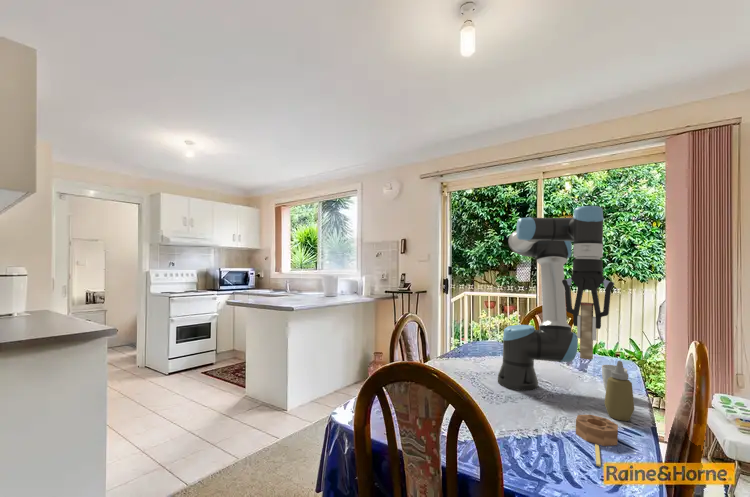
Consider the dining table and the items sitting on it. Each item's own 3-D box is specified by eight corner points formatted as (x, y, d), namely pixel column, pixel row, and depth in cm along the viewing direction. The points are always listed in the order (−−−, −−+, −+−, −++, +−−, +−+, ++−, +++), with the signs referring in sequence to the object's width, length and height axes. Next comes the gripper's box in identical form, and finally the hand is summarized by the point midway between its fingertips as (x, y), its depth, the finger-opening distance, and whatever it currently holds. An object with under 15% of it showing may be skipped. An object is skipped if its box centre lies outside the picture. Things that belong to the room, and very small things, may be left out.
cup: (631, 399, 133) (631, 372, 134) (606, 397, 135) (607, 369, 135) (620, 391, 141) (621, 365, 142) (597, 389, 143) (598, 363, 143)
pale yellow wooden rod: (600, 466, 88) (600, 464, 88) (596, 465, 89) (596, 463, 89) (598, 446, 98) (598, 445, 98) (595, 445, 98) (595, 444, 98)
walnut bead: (574, 437, 103) (574, 423, 103) (578, 425, 111) (578, 411, 111) (617, 449, 97) (617, 434, 97) (617, 435, 105) (618, 421, 105)
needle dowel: (579, 358, 106) (579, 302, 106) (580, 356, 108) (581, 302, 109) (592, 360, 104) (592, 303, 105) (593, 358, 106) (594, 303, 107)
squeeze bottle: (635, 425, 112) (636, 366, 112) (604, 418, 116) (605, 361, 116) (633, 416, 119) (634, 360, 119) (604, 409, 123) (605, 356, 123)
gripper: (555, 257, 109) (553, 336, 108) (619, 258, 100) (619, 345, 99) (559, 258, 115) (558, 333, 114) (621, 259, 106) (620, 341, 105)
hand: (586, 338), depth 106 cm, fingers closed on needle dowel, 3 cm apart
